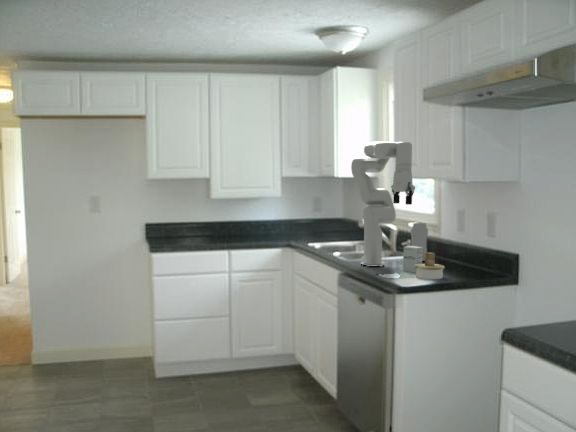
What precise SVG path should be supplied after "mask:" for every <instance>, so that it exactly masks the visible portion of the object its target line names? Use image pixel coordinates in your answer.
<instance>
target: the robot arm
mask: <svg viewBox="0 0 576 432" xmlns="http://www.w3.org/2000/svg"><path fill="white" fill-rule="evenodd" d="M363 152H364V155H365V156H358V157H354V159H353V160H352V161H351V167H350V168H351V174H352V176H353V179H354V181H355V184H356V185H357V188H358V192H359V196H360V199H361V203H362V204H363V205H364V206H365V207H364V208H363V210H362V218H363V256H361V257H360V259H361V260H362V261H360V265H361V264H365V265H377V266H380V265H384V266H385V262H383V261H382V259H383V256H382V255H383V230H382V228H381V227H380V225H381V224H383V225H385V224H392V223H394V222H395V220H396V218H397V214H396V209H395V205H394V204H400V197H401V196H400V193H403V192H404V193H405V205H413V196H414V193H415V189H416V186H415V185H414V184H413V171H412V164H413V163H412V162H413V161H412V160H413V158H412V157H413V144H412V142H409V141H398V142H397V141H393V142H392V141H372V142H368V143H367V144H365V146H364V148H363ZM391 158H392V159H393V158H394V159H395V170H394V172H393V179H392V185H391V187H390V188H391V192H392V195H393V198H392V195H391V193H390V191H389V190H388V189H386V188H382V187H381V188H377V187H375V185H374V181H373V179H372V178H371V177H370V175H368V174H367V173H377V174H378V173H381V172H382V171H383V170H384V169H385V167H386V166H387V164H388V162H389V161H390V159H391ZM380 267H381V266H380Z"/></svg>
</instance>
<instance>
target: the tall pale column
mask: <svg viewBox="0 0 576 432" xmlns="http://www.w3.org/2000/svg"><path fill="white" fill-rule="evenodd" d="M428 234H429V229H428V227H427V223H426V222H421V221H420V222H414V223H413V224H412V228H410V235H411V246H417V247H423V257H422V261H425V253H428V247H427V239H428Z"/></svg>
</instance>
